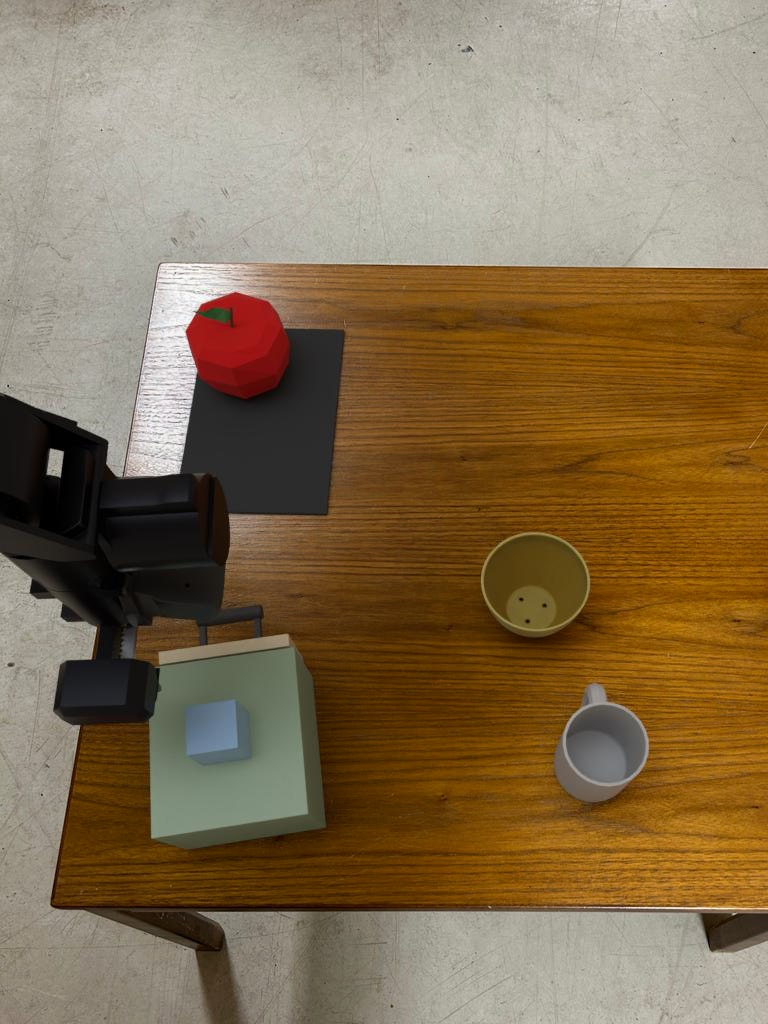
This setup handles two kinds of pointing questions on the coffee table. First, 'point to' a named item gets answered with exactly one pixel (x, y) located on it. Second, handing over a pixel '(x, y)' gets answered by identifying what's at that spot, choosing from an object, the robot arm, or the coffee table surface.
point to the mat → (272, 432)
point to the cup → (600, 748)
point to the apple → (238, 344)
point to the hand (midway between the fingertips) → (160, 636)
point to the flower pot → (535, 583)
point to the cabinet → (242, 783)
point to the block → (217, 732)
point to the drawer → (229, 648)
